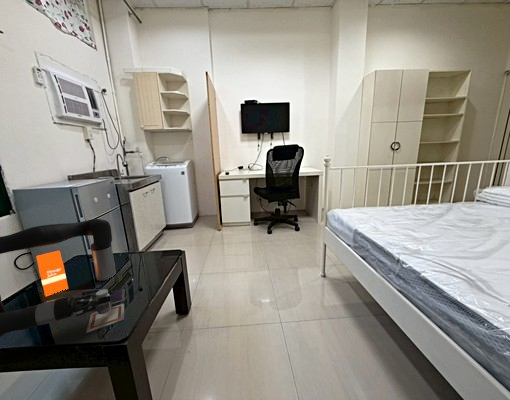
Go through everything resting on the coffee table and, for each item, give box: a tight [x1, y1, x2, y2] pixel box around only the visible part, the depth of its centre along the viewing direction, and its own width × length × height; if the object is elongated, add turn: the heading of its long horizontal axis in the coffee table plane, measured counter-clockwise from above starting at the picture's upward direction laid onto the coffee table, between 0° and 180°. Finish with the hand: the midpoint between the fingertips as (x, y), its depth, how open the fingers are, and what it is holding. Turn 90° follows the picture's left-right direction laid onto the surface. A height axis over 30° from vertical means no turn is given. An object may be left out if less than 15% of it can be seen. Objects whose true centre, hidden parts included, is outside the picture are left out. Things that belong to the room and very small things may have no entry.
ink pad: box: [95, 288, 125, 310], centre depth 100 cm, size 12×10×2 cm
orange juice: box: [36, 250, 69, 297], centre depth 109 cm, size 8×9×20 cm
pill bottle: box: [96, 288, 113, 314], centre depth 87 cm, size 5×5×8 cm
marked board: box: [85, 303, 125, 334], centre depth 88 cm, size 12×12×1 cm
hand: (110, 295), depth 88 cm, fingers closed on pill bottle, 4 cm apart
